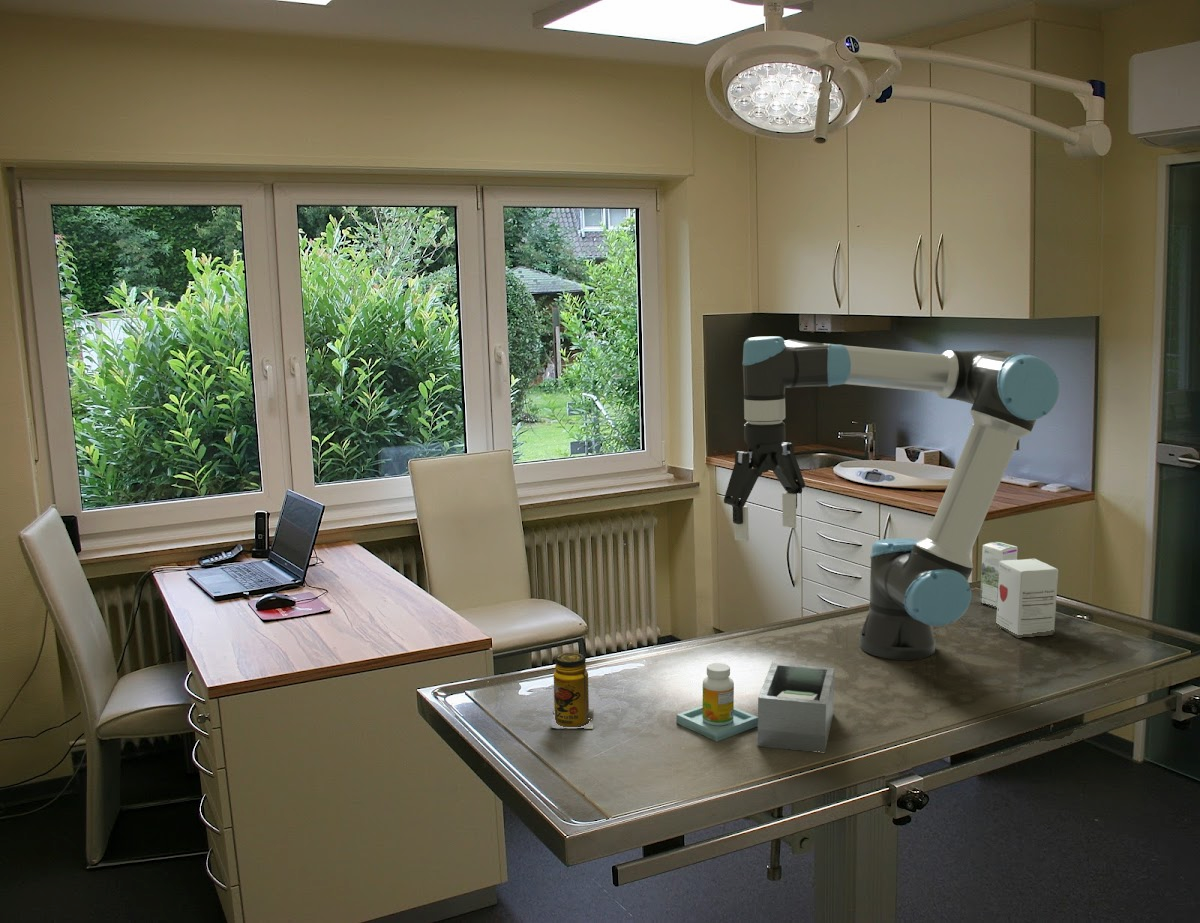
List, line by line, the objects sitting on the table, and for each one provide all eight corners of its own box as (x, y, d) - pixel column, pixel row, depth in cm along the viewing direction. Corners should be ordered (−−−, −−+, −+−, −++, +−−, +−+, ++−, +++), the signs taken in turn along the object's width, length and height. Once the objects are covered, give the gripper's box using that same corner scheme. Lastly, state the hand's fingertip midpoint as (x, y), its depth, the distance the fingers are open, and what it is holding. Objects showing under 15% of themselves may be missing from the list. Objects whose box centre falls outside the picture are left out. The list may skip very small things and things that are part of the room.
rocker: (780, 700, 195) (780, 689, 195) (819, 704, 193) (820, 693, 193) (773, 707, 186) (774, 695, 186) (814, 711, 184) (815, 699, 184)
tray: (717, 708, 200) (717, 700, 199) (758, 725, 192) (758, 717, 192) (676, 723, 194) (676, 714, 193) (717, 741, 186) (717, 732, 186)
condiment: (550, 730, 191) (549, 663, 189) (553, 710, 200) (552, 647, 198) (593, 729, 191) (592, 663, 189) (593, 710, 200) (593, 646, 197)
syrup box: (1015, 606, 257) (1019, 545, 255) (998, 610, 254) (1001, 549, 252) (995, 600, 262) (999, 540, 260) (978, 604, 259) (981, 543, 257)
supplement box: (994, 625, 244) (997, 559, 241) (1031, 623, 245) (1035, 557, 243) (1016, 639, 235) (1020, 570, 232) (1055, 636, 237) (1059, 568, 234)
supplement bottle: (697, 716, 194) (697, 663, 192) (724, 712, 196) (725, 659, 194) (710, 728, 189) (711, 674, 188) (738, 723, 191) (739, 669, 189)
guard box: (771, 707, 200) (772, 662, 199) (833, 713, 197) (834, 668, 196) (757, 746, 184) (758, 697, 183) (824, 753, 181) (826, 704, 179)
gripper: (792, 411, 215) (793, 518, 219) (702, 428, 199) (705, 542, 203) (823, 414, 209) (823, 524, 213) (733, 431, 193) (736, 549, 197)
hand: (766, 533), depth 208 cm, fingers open, 13 cm apart
